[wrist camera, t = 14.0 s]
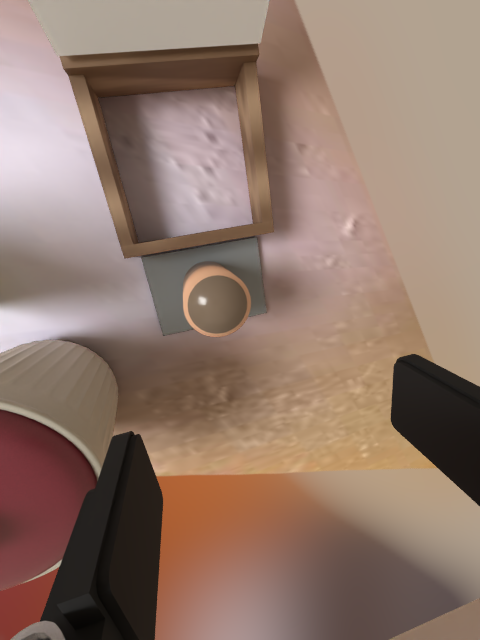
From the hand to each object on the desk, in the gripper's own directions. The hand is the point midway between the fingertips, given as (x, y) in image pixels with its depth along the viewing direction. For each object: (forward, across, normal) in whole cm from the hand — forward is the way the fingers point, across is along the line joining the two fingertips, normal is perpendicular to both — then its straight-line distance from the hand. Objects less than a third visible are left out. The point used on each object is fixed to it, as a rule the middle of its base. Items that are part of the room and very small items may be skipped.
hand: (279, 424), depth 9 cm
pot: (+26, 0, 0) cm, 26 cm away
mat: (+26, 0, 0) cm, 26 cm away
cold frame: (+26, 0, -13) cm, 29 cm away
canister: (+26, +20, +9) cm, 34 cm away
